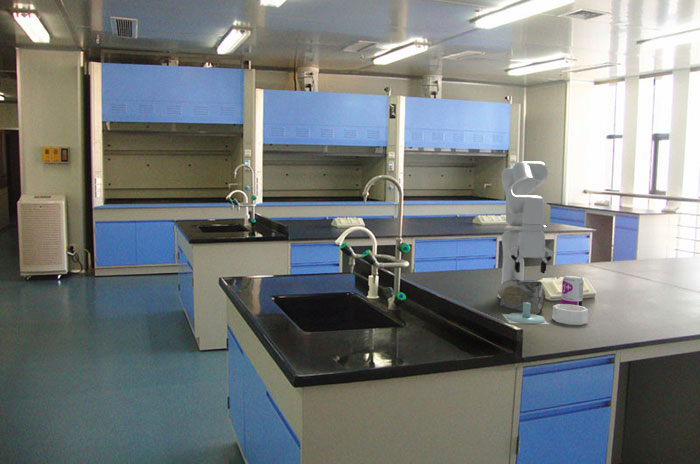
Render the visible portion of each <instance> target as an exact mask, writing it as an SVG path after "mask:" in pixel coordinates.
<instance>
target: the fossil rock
mask: <svg viewBox="0 0 700 464" xmlns="http://www.w3.org/2000/svg"><path fill="white" fill-rule="evenodd" d="M542 285H543V283H542V282H541V281H538V280H534V279H529V280H528V279H523V280H521V281H520V280H518V279H515V280H508V281H505V282H503V284H502V283H501V285H500V287H499V288H498V289H497V295H498V294H499V296H500V297H501V299H500V301H499V306H500V307H505V308H509V309H512V310H515V311H520V312H523V303H524V302H528V303H531V307H530V314H536V315H538V314H540V313H543V309H544V305H545V300H546V293H545V289H544V288H543V287H542Z"/></svg>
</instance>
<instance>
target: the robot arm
mask: <svg viewBox="0 0 700 464" xmlns="http://www.w3.org/2000/svg"><path fill="white" fill-rule="evenodd" d="M547 178H548V167H547V165H546V164H545V163H544V162H543V161H527V160H526V161H525V160H523V161H519V162H516V163H515V164H514V165H513V167H510V166H509V167H506V168H504V169H503V171H502V172H501V185H502V187H503V191H504V194H505V223H506V224H507V225H508V226H509V227H512V228H521V229H508V230H505V231H504V232H503V233H502V236H501V244H502V268H501V271H502V273H501V274H502V275H501V285H502V284H503V282H505V281H508V280H515V279H518V280H520V281H521V280H524V274H525V273H524V272H525V259H524V258H526V259H540V260H541V262H540V271H539V272H540V273H542V274H545V272H546V271H547V264H548V262H549V261H550V260H551V259H552V257H553V256H554V254H555V251H553V250H552V249H550V248H548V247H546V236H545V232H544V230H547V226H546V225H545V224H544V211H545V208H546V202H545V199H544V197H542V196H540V195H530V194H531V193H533V192H534V191H535V189H536V188H537V187H540V186H541V185H543V183H545V181H547ZM546 252H547V253H548V255H547V256H546ZM545 256H546V257H545ZM497 298H498V299H500V300H501V297H500V296H499V294H498V293H497Z"/></svg>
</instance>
